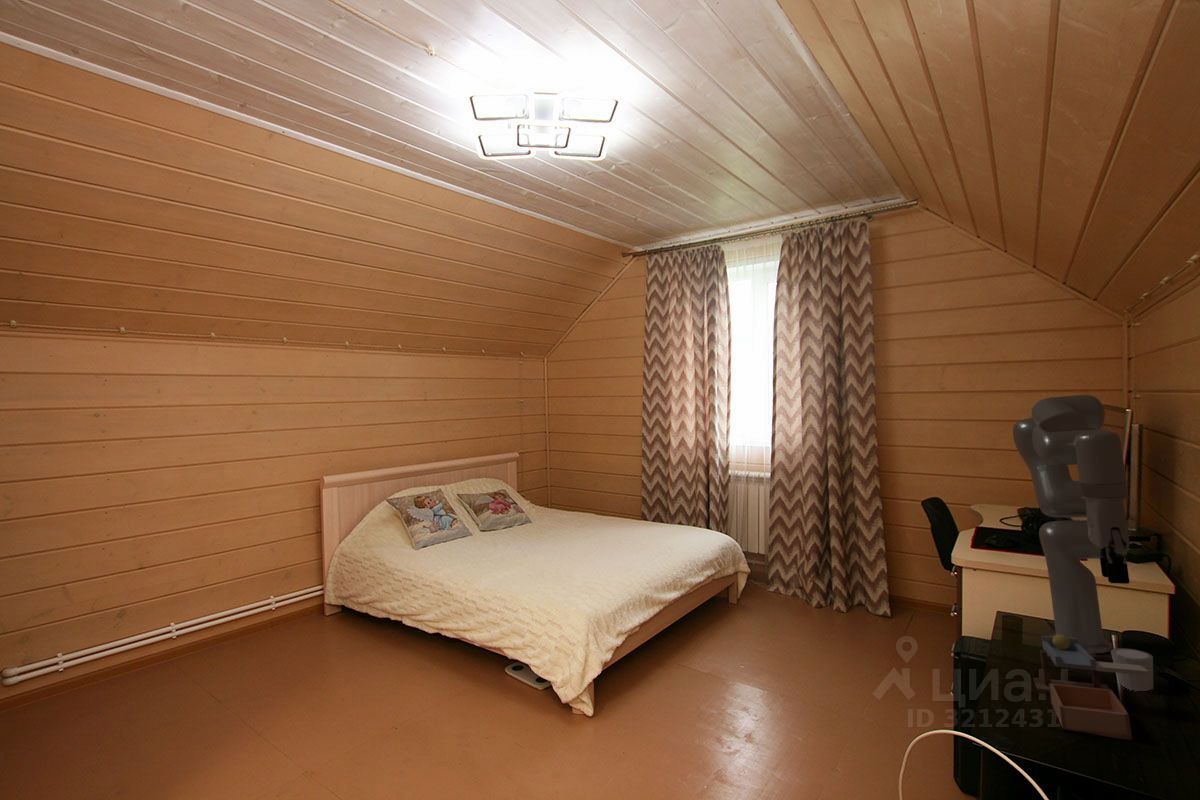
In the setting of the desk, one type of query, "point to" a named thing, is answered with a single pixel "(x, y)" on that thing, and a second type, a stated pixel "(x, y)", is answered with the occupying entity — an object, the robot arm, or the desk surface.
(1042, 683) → the stand
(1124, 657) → the light grey cylinder
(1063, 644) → the ball
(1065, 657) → the grey piece
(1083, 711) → the pink open box
